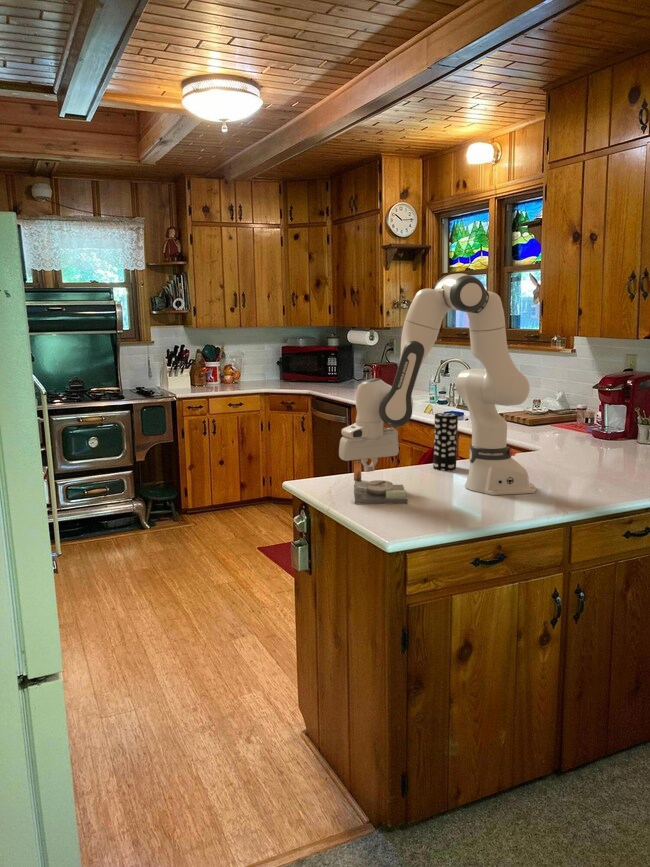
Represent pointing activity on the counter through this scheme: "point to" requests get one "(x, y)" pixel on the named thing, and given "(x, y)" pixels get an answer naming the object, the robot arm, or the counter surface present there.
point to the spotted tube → (445, 441)
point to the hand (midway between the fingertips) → (369, 471)
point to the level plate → (381, 496)
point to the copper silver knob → (370, 482)
